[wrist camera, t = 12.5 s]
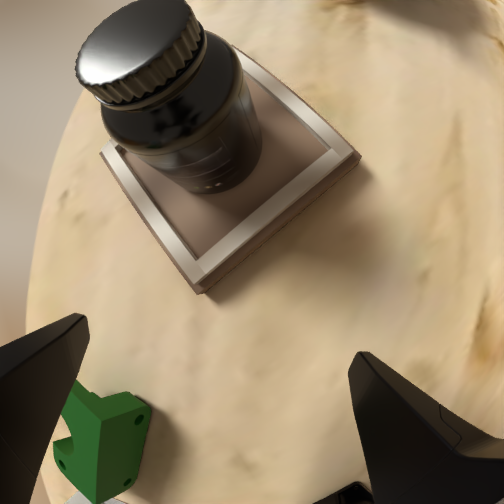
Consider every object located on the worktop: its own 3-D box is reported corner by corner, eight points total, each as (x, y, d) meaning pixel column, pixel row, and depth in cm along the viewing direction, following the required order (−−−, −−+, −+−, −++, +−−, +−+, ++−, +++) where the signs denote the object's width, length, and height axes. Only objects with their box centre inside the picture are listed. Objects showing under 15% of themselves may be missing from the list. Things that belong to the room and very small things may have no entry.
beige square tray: (357, 164, 19) (364, 151, 17) (203, 293, 20) (192, 295, 18) (235, 55, 21) (230, 38, 19) (109, 159, 22) (93, 150, 20)
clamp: (127, 376, 25) (63, 354, 18) (174, 408, 23) (111, 400, 15) (85, 463, 21) (19, 462, 13) (125, 499, 18) (60, 512, 11)
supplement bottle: (166, 120, 20) (74, 18, 8) (257, 100, 19) (218, -38, 7) (169, 206, 19) (39, 139, 8) (270, 189, 18) (231, 69, 7)
